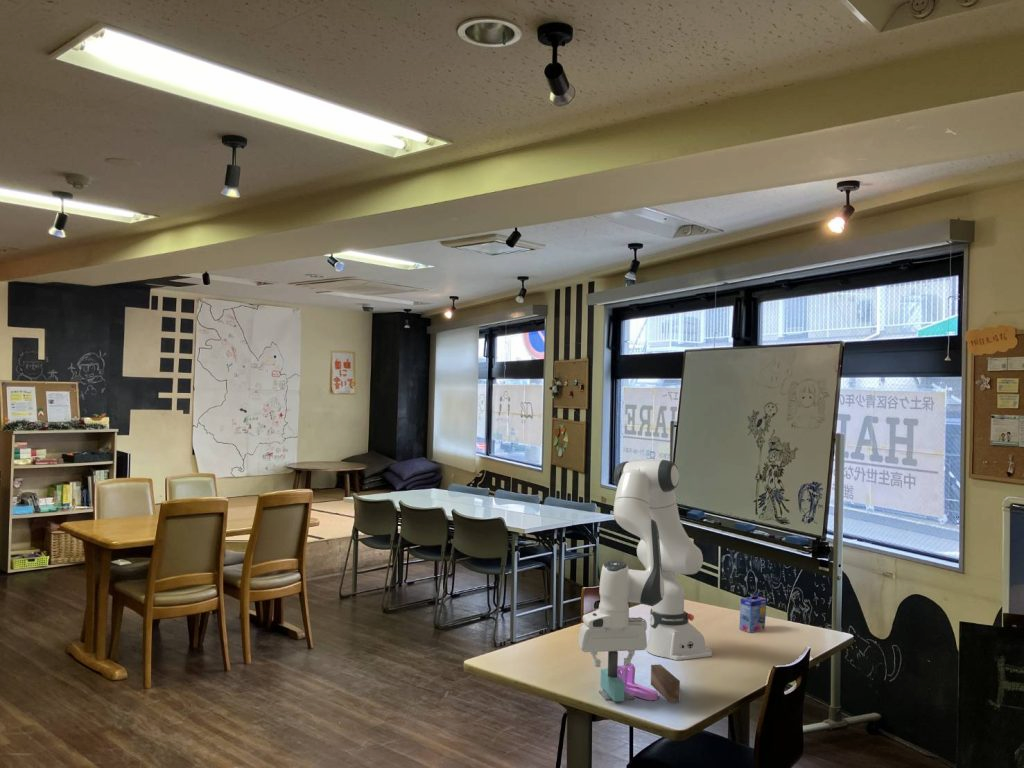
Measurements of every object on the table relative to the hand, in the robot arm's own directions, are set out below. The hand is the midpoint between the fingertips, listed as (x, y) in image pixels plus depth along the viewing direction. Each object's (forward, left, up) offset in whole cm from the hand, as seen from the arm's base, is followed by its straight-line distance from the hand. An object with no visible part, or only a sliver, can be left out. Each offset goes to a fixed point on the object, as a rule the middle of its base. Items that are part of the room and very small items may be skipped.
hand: (612, 665), depth 219 cm
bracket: (-8, -1, -9) cm, 12 cm away
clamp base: (-7, 0, -9) cm, 11 cm away
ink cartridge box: (-78, -57, -9) cm, 97 cm away
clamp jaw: (0, 0, -9) cm, 9 cm away
